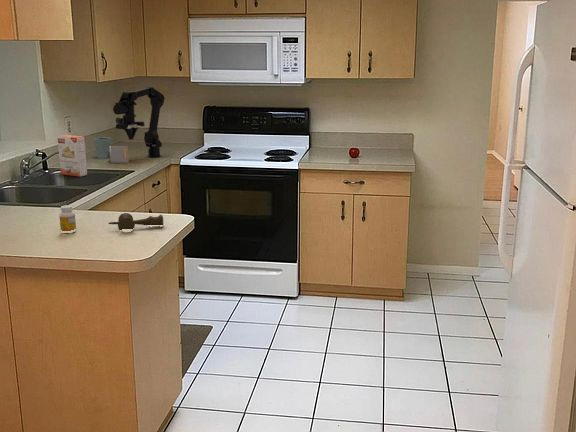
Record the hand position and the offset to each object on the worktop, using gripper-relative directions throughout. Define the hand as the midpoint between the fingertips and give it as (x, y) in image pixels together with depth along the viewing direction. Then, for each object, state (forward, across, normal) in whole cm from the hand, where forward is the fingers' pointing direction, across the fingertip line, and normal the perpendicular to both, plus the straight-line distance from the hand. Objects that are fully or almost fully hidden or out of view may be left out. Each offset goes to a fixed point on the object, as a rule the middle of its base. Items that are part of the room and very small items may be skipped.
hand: (131, 139), depth 376 cm
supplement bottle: (+13, +127, +87) cm, 154 cm away
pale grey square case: (+13, +9, -2) cm, 16 cm away
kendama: (+14, +111, +106) cm, 153 cm away
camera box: (+13, +6, -7) cm, 16 cm away
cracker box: (+13, +48, +4) cm, 50 cm away
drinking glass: (+13, -1, -25) cm, 28 cm away
